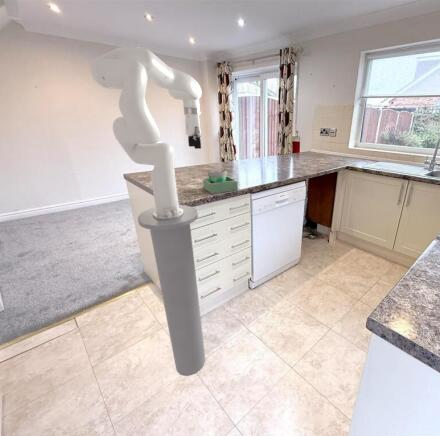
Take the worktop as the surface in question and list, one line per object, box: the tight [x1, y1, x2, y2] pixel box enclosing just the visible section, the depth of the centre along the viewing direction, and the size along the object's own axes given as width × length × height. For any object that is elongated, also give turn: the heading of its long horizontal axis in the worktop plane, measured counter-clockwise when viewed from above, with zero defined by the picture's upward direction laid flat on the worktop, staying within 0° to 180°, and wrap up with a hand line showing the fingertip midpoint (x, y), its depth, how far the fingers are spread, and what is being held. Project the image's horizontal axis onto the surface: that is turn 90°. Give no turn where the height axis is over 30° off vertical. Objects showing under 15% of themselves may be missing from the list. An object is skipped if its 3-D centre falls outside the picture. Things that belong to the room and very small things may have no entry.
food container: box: [207, 169, 228, 184], centre depth 146 cm, size 12×6×10 cm, turn 137°
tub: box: [202, 175, 239, 195], centre depth 148 cm, size 13×17×6 cm
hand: (194, 147), depth 129 cm, fingers open, 9 cm apart
